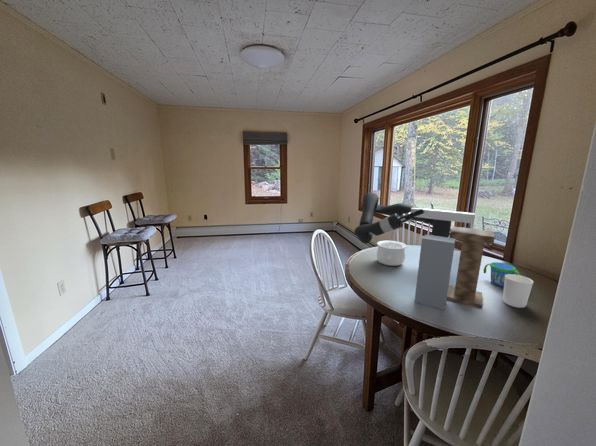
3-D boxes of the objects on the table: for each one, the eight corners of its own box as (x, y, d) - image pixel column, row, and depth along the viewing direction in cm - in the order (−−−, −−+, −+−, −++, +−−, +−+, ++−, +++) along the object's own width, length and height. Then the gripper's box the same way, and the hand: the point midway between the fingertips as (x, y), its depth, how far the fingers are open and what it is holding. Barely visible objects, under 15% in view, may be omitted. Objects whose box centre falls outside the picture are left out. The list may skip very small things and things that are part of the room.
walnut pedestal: (440, 297, 123) (450, 231, 116) (443, 286, 135) (452, 225, 128) (481, 308, 115) (494, 237, 108) (481, 295, 126) (493, 230, 119)
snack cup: (522, 288, 134) (526, 269, 132) (511, 292, 130) (515, 273, 127) (489, 276, 148) (492, 259, 146) (477, 280, 143) (481, 262, 141)
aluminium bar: (410, 216, 129) (411, 208, 128) (412, 215, 132) (412, 207, 132) (473, 223, 115) (475, 214, 114) (473, 222, 118) (475, 213, 118)
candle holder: (494, 298, 124) (499, 274, 121) (514, 297, 125) (519, 273, 122) (513, 309, 114) (518, 283, 112) (534, 308, 115) (539, 283, 113)
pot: (384, 255, 180) (385, 238, 178) (410, 261, 169) (412, 243, 167) (369, 264, 164) (370, 245, 162) (396, 271, 153) (398, 251, 150)
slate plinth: (414, 301, 120) (422, 238, 113) (417, 294, 126) (425, 234, 120) (444, 310, 113) (454, 243, 107) (446, 302, 120) (455, 238, 113)
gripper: (383, 219, 132) (417, 204, 122) (391, 214, 143) (423, 201, 133) (390, 232, 131) (425, 219, 121) (397, 227, 143) (429, 215, 133)
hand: (423, 210), depth 127 cm, fingers closed on aluminium bar, 4 cm apart
